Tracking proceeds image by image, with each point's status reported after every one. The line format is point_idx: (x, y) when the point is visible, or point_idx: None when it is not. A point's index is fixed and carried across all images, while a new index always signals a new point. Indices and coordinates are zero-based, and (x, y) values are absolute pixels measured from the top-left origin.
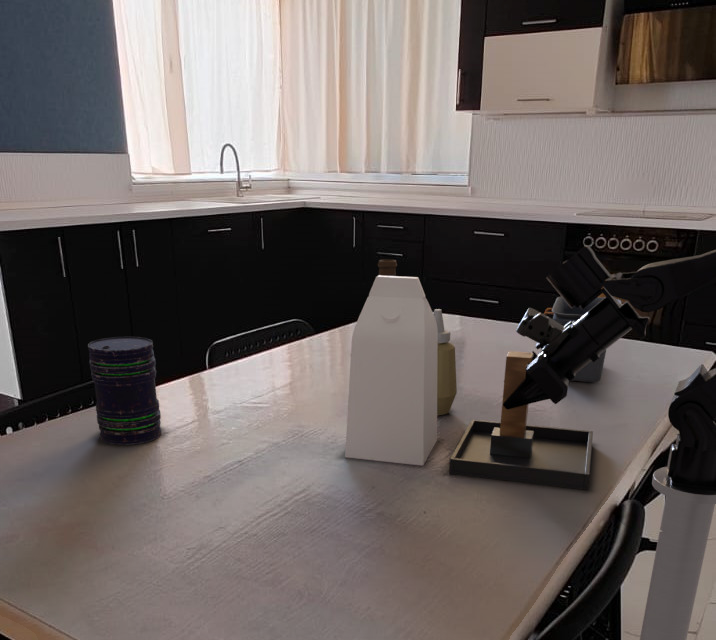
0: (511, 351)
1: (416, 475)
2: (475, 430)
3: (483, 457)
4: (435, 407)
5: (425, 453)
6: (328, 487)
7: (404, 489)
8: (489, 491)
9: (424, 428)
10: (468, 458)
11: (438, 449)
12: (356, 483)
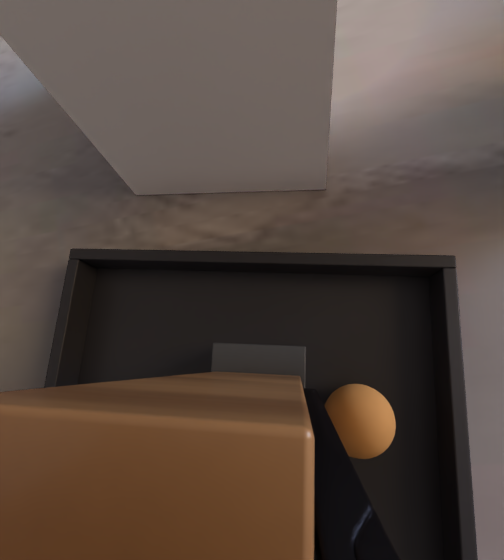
0: (290, 481)
1: (78, 194)
2: (428, 280)
3: (196, 331)
4: (294, 115)
5: (156, 183)
6: (4, 65)
7: (4, 189)
8: (4, 366)
9: (102, 135)
10: (179, 292)
11: (257, 206)
12: (25, 101)
